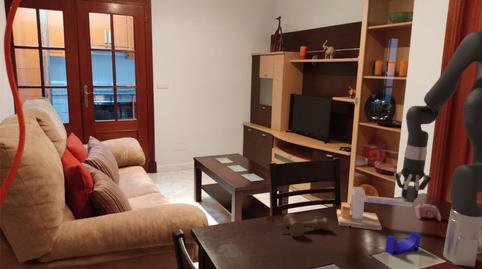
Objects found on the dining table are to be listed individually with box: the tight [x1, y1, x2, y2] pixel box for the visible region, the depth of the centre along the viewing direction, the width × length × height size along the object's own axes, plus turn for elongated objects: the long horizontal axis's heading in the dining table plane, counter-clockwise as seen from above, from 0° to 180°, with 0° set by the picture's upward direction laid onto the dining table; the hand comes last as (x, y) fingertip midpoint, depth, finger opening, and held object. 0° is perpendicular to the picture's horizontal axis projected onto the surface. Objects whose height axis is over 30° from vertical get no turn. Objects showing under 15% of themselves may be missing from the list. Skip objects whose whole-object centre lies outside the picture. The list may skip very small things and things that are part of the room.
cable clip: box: [384, 231, 422, 256], centre depth 123 cm, size 12×4×6 cm, turn 110°
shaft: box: [364, 184, 416, 208], centre depth 141 cm, size 3×18×8 cm, turn 80°
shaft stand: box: [336, 186, 383, 231], centre depth 144 cm, size 13×16×14 cm
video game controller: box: [414, 203, 442, 222], centre depth 151 cm, size 10×5×7 cm, turn 85°
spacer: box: [340, 201, 351, 219], centre depth 145 cm, size 5×3×5 cm, turn 170°
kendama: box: [277, 213, 330, 238], centre depth 134 cm, size 6×10×20 cm
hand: (409, 198), depth 140 cm, fingers closed on shaft, 3 cm apart
